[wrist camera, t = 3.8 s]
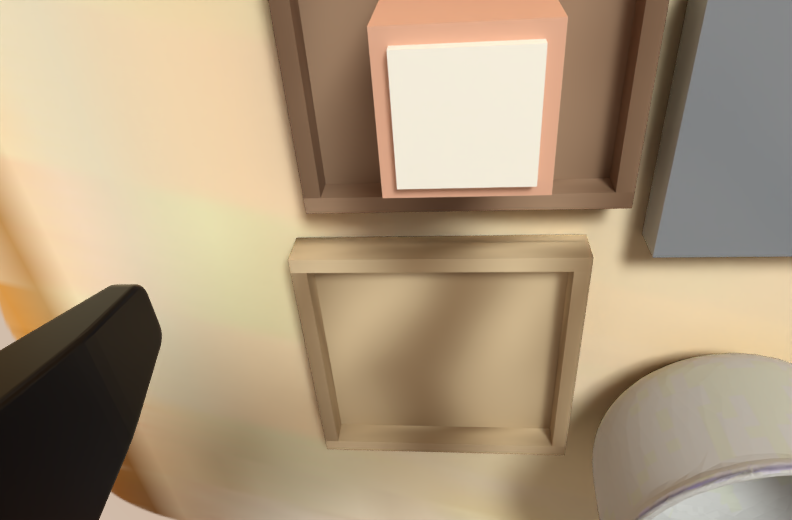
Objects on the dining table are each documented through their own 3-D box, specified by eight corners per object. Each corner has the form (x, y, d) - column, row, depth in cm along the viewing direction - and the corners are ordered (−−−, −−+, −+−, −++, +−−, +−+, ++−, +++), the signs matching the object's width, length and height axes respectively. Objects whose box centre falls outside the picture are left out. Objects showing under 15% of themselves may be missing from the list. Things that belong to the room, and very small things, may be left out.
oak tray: (586, 234, 23) (593, 257, 21) (560, 428, 29) (564, 455, 28) (296, 237, 24) (287, 260, 23) (332, 423, 30) (327, 448, 29)
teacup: (545, 456, 30) (569, 628, 24) (629, 289, 24) (693, 461, 18) (815, 503, 31) (910, 684, 24) (968, 350, 24) (1153, 542, 18)
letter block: (535, -41, 17) (570, 21, 12) (527, 98, 19) (553, 201, 14) (393, -32, 17) (364, 30, 12) (401, 102, 20) (381, 204, 14)
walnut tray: (686, -208, 15) (707, -211, 14) (621, 186, 21) (631, 208, 20) (254, -172, 16) (238, -171, 15) (314, 192, 23) (306, 213, 21)
